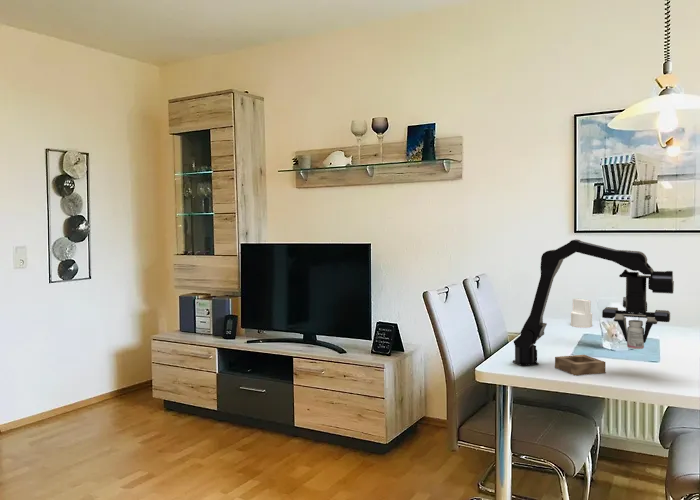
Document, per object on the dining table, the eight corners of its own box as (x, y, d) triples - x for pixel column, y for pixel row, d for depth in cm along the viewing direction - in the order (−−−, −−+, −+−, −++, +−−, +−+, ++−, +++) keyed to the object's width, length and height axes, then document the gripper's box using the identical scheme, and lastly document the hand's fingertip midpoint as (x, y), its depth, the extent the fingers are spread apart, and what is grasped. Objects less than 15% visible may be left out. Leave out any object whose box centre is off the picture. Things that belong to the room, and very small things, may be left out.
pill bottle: (629, 345, 192) (629, 319, 191) (645, 347, 189) (646, 320, 188) (625, 348, 188) (625, 321, 188) (641, 350, 185) (642, 322, 185)
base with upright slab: (566, 325, 278) (566, 299, 278) (583, 323, 281) (583, 298, 280) (579, 328, 270) (579, 301, 269) (596, 327, 272) (596, 300, 272)
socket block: (575, 375, 190) (575, 364, 190) (555, 367, 201) (555, 356, 200) (605, 372, 193) (605, 362, 192) (584, 364, 203) (584, 354, 203)
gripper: (671, 290, 190) (670, 340, 190) (607, 287, 199) (607, 334, 200) (669, 294, 180) (668, 346, 181) (602, 291, 190) (601, 340, 190)
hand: (635, 341), depth 188 cm, fingers closed on pill bottle, 5 cm apart
